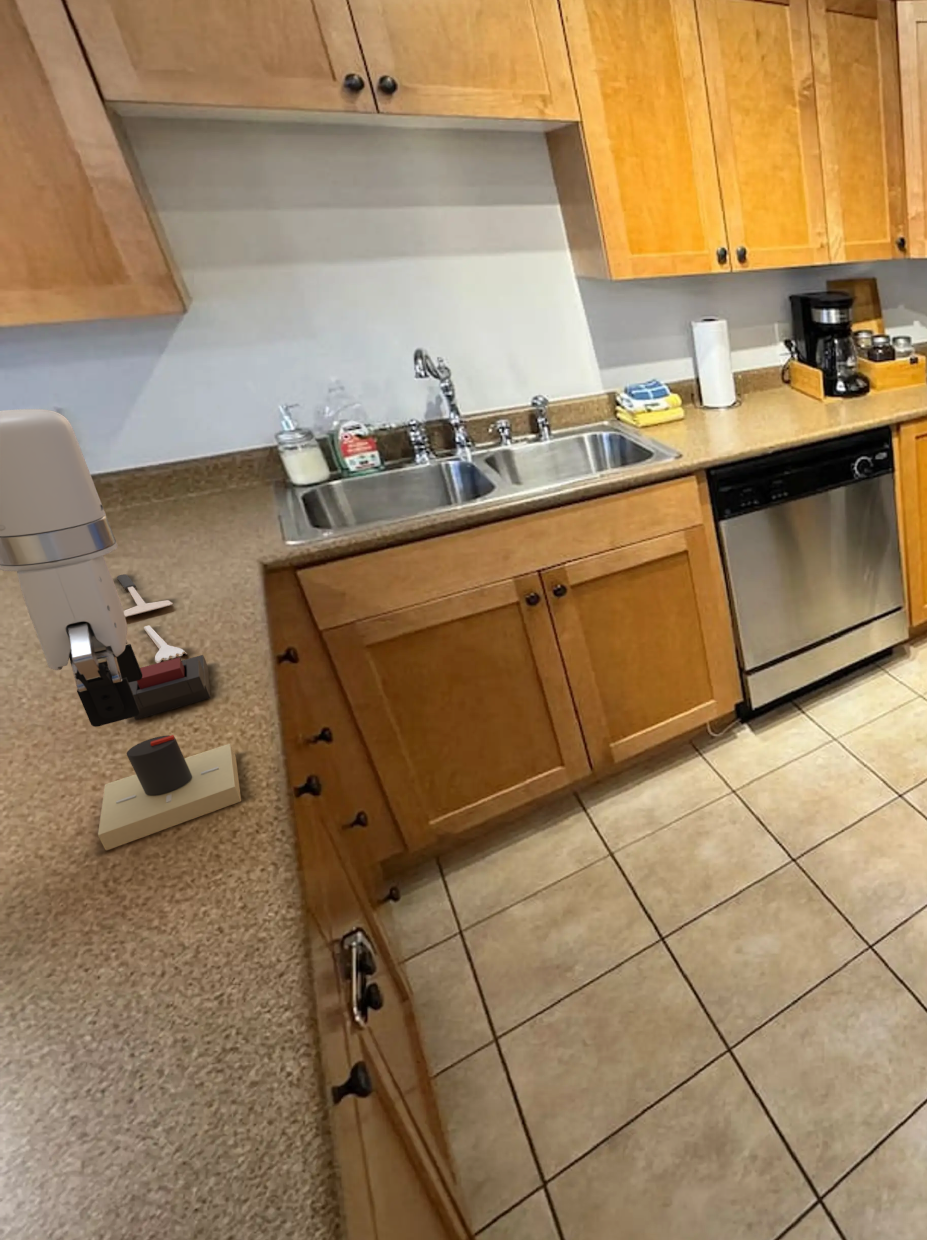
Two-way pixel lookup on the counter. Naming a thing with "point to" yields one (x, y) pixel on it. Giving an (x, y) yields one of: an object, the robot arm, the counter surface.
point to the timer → (168, 799)
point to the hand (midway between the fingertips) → (119, 701)
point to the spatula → (139, 598)
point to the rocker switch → (174, 690)
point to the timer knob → (159, 765)
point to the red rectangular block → (161, 673)
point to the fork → (163, 647)
